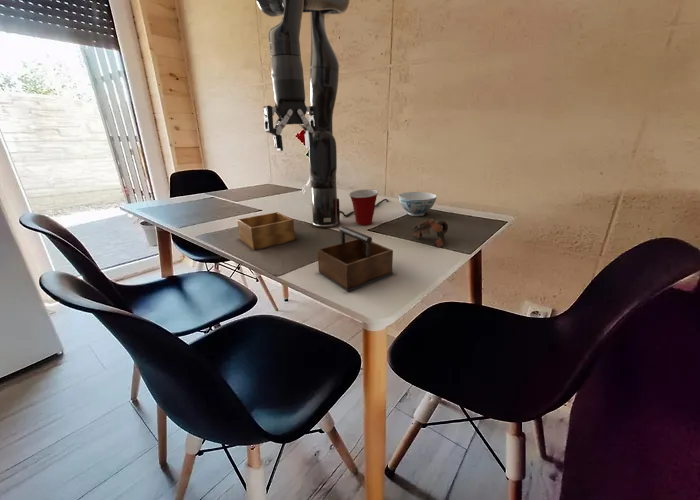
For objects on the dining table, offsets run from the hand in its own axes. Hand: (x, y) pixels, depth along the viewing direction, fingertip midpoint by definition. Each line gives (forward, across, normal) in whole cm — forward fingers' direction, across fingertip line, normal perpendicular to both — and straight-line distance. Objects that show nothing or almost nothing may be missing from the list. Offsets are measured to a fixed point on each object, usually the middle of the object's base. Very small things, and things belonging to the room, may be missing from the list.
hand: (295, 149), depth 81 cm
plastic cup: (+30, +32, +10) cm, 45 cm away
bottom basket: (+29, -4, +17) cm, 34 cm away
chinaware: (+30, +57, +6) cm, 64 cm away
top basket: (+29, +2, -21) cm, 36 cm away
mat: (+29, +2, -21) cm, 36 cm away
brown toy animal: (+30, +35, -19) cm, 50 cm away
